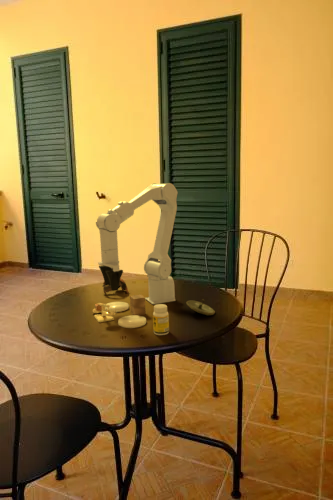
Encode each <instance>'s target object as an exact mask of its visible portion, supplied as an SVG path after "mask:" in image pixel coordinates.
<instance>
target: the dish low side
mask: <svg viewBox="0 0 333 500" xmlns="http://www.w3.org/2000/svg"><path fill="white" fill-rule="evenodd" d="M105 304H106V305H110V307H109V310H114V311H116V313H122V312H125V311H127V310H129V309H130V304H129V303H128V302H125V301H111V302H108V303H105ZM106 310H108V308H107V307H105V311H106Z"/></svg>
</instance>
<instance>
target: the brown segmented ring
mask: <svg viewBox="0 0 333 500" xmlns="http://www.w3.org/2000/svg"><path fill="white" fill-rule="evenodd" d="M102 287H103V291H102V292H103V293H104V294H105V295H106V293H109V292H113V291H112V290H111V286H110V285H107V286H106V285H105V282H104V281H103V283H102ZM118 289H121V291H122V292H123V291H126V294H129V290H128V286H127V284H126V281H125V280H124V279H122V277H121V278H120V282H119V288H118Z"/></svg>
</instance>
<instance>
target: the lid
mask: <svg viewBox="0 0 333 500" xmlns="http://www.w3.org/2000/svg"><path fill="white" fill-rule="evenodd" d="M185 303H186V306H188V307H189V308H190V309H191V310H192V311H195V312H197V313H199V314H202V315H206V316H214V315H215V313H216V311H215V310H214V308H213V307H211V306H209V305H208V304H205V299H204V298H202V299H201V300H200V301H197V300H191V299H190V300H187V301H186V302H185Z"/></svg>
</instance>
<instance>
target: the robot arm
mask: <svg viewBox="0 0 333 500" xmlns="http://www.w3.org/2000/svg"><path fill="white" fill-rule="evenodd" d="M178 194H179V192H178V190H177V188H176V187H175V185H174V184H173V183H170V182H168V183H151V184H150V185H149V186H148V185H147V187H145V189H144V190H142V191H141V192H140V193H138V194H137V195H136V196H135V197H133V198H132V199H131V200H129V201H126V200H123V201H119V202H118V203H117V204H118V205H116V206H114V207H113V208H112V209H111V208H110V209H108V210H107V213H101V214H100V215H98V218H97V219H96V220H97V221H96V222H95V225H96V227H97V229H98V230H99V237H100V238H99V239H100V240H99V241H100V254H101V261H99V262H97V263H98V264H97V265H98V268H99V270H100V272H101V274H102V277H103V283H104V282H105V285H106V286H108V285H110V286H111V290H112V291H111V292H115V291H118V290H119V289H120V288H119V282H120V278H121V279H122V275H123V273H124V270H123V269H120V260H119V249H118V248H119V244H118V229H119V228H120V226H121V224H123V223H124V222H125V221H127V220H128V219H129V218H131V217H132V216H134V214H135V210H136V209H138V208H140V207H142V206H143V205H145V204H146V203H148V202H149V201H152V202H154V203H155V204H156V205H157V206H158V207H159V208H160V210H161V212H160V216H159V221H158V227H157V231H156V236H155V241H154V246H153V250H152V251H151V252H150V253H149V254H148V256H147V259H146V261H145V263H144V264H143V265H144V266H143V270H144V273H145V274H146V277H147V280H148V297H145V301H147V302H148V303H150V304H151V305H157V304H166V303H172V302H176V297H175V296H176V294H175V288H176V287H175V280H174V278H173V277H172V276H171V273H172V259H171V257H170V256H169V254H168V253H169V249H170V243H171V240H172V239H171V238H172V235H173V230H174V225H175V220H176V214H177V210H178V205H177V203H178V202H177V197H178Z"/></svg>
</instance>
